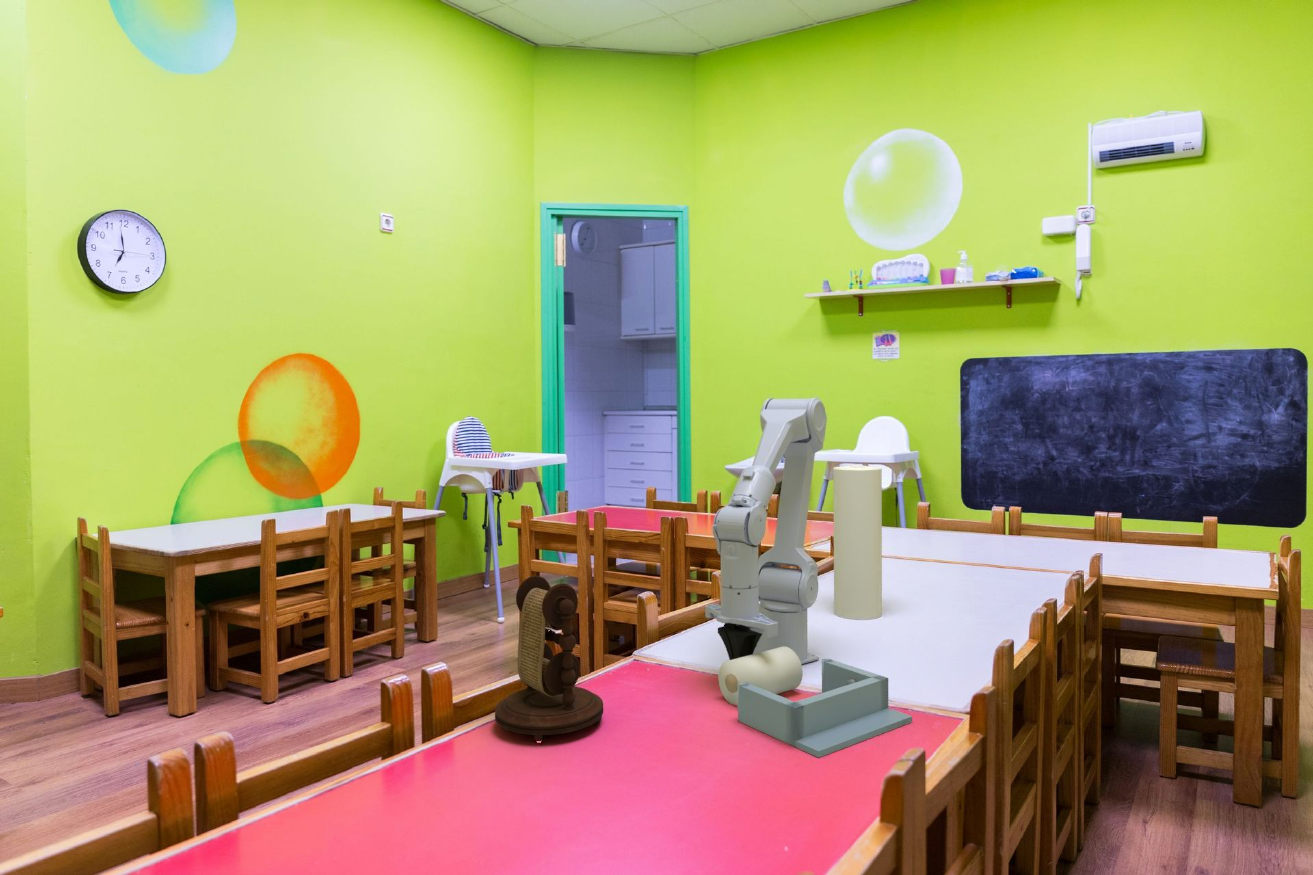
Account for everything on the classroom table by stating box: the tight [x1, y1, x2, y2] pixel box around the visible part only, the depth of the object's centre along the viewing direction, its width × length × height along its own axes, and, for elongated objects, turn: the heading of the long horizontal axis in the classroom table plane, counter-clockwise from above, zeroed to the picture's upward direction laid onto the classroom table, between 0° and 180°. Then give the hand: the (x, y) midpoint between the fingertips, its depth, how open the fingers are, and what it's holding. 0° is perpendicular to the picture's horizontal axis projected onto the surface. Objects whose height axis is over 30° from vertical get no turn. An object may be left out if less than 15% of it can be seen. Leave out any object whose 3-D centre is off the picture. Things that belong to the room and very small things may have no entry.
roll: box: [717, 647, 804, 707], centre depth 125 cm, size 12×6×6 cm, turn 126°
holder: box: [737, 658, 913, 758], centre depth 115 cm, size 15×18×5 cm
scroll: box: [494, 575, 604, 742], centre depth 115 cm, size 15×15×20 cm
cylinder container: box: [832, 464, 883, 621], centre depth 170 cm, size 9×9×30 cm
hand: (740, 672), depth 129 cm, fingers closed
